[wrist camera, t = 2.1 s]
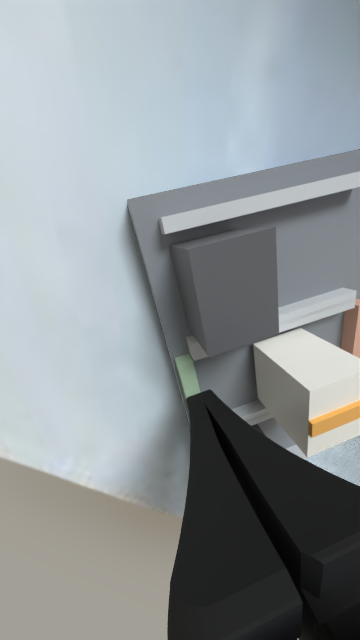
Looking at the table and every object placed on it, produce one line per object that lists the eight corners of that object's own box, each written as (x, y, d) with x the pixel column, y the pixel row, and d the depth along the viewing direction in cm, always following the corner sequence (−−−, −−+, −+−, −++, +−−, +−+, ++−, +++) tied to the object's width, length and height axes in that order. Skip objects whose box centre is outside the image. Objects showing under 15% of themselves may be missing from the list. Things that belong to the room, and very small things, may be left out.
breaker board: (405, 142, 11) (547, 95, 8) (359, 413, 19) (416, 456, 16) (126, 204, 9) (128, 181, 6) (204, 477, 17) (226, 544, 14)
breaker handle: (300, 327, 12) (380, 369, 8) (299, 382, 14) (366, 437, 10) (253, 343, 12) (314, 394, 8) (257, 397, 13) (310, 461, 10)
